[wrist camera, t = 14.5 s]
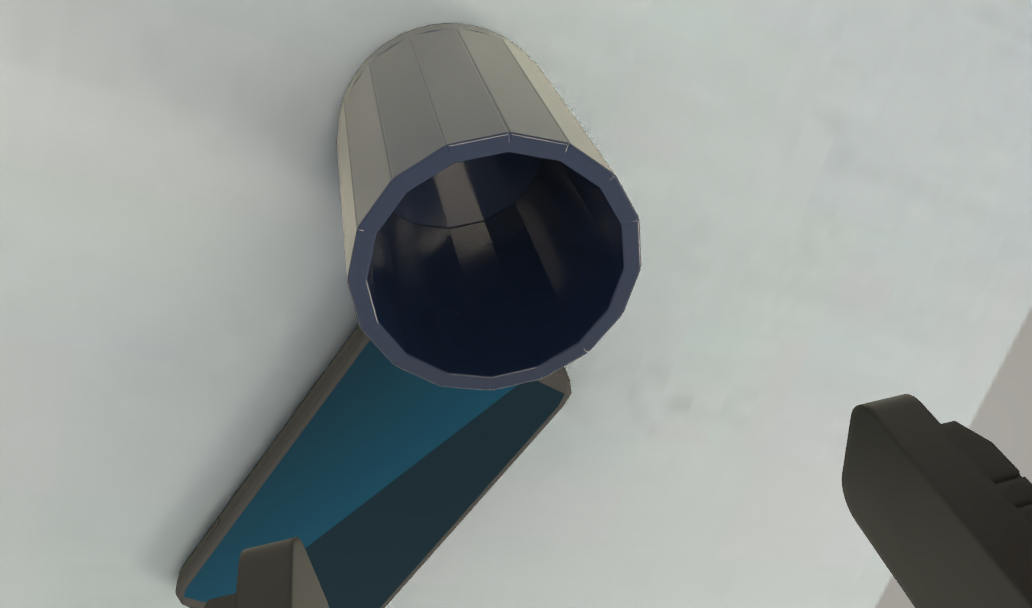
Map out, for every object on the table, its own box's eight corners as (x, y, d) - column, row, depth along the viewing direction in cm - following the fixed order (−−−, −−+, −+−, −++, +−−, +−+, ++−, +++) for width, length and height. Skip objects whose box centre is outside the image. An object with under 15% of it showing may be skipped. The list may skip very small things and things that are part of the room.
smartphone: (579, 368, 29) (586, 385, 28) (349, 630, 34) (350, 651, 33) (390, 274, 25) (393, 291, 24) (166, 584, 30) (162, 606, 29)
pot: (543, 3, 22) (635, 107, 16) (563, 206, 25) (645, 355, 19) (312, 45, 21) (314, 171, 15) (365, 247, 24) (385, 416, 18)
